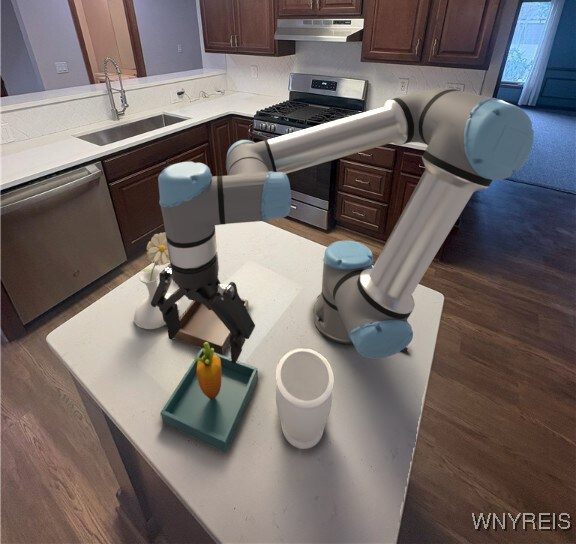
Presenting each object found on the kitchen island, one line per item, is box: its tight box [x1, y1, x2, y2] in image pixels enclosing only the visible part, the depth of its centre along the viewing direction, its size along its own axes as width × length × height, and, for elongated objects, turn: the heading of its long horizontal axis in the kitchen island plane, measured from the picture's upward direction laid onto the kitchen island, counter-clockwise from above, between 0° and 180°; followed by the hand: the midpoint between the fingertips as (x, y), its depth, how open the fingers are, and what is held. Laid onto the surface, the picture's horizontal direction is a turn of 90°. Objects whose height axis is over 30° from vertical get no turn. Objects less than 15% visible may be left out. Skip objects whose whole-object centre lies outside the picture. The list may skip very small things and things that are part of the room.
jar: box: [275, 347, 335, 450], centre depth 59 cm, size 11×10×15 cm
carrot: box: [193, 342, 221, 400], centre depth 63 cm, size 5×5×15 cm
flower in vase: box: [133, 231, 180, 330], centre depth 81 cm, size 13×11×25 cm
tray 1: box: [173, 295, 250, 356], centre depth 82 cm, size 14×14×3 cm
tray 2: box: [160, 348, 259, 453], centre depth 65 cm, size 14×14×3 cm
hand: (204, 344), depth 59 cm, fingers open, 13 cm apart
